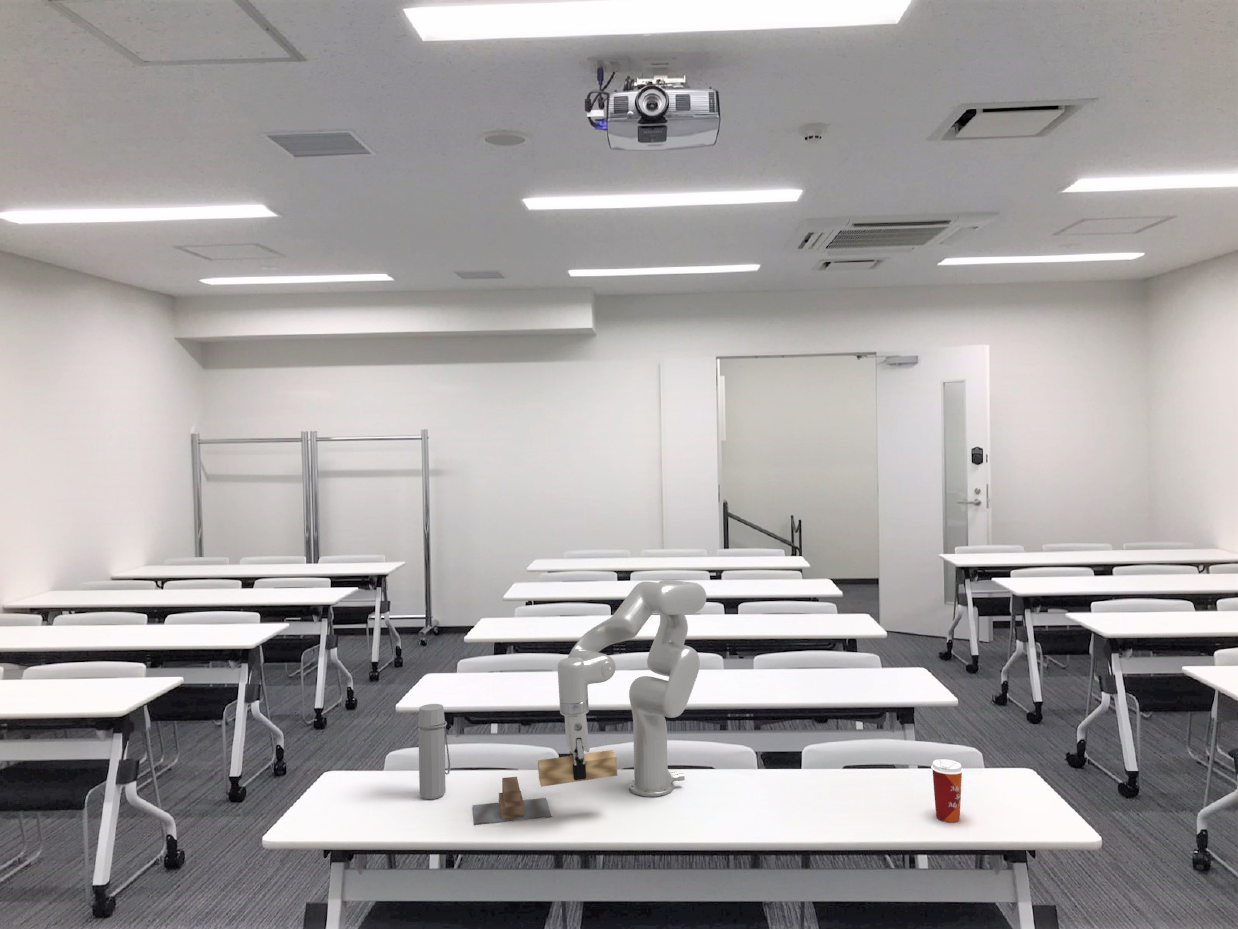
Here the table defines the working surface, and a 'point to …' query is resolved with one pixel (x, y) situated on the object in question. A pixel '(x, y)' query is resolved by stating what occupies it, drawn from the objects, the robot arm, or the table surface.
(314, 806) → the table surface
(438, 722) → the water bottle
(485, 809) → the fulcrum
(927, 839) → the table surface
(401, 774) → the table surface
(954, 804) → the paper cup
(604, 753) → the oak bar
